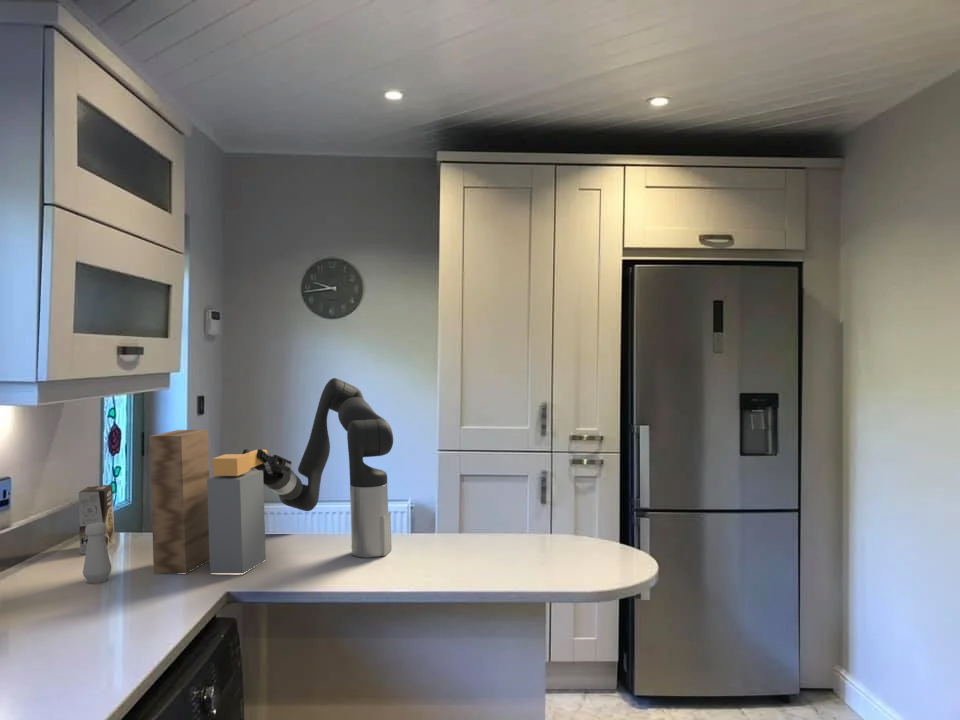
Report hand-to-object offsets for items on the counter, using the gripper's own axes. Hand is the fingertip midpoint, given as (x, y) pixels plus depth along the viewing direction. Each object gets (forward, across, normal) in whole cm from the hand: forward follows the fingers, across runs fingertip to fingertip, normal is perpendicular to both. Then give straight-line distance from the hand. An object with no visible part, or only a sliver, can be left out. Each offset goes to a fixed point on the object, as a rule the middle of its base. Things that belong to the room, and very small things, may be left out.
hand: (251, 453), depth 184 cm
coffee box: (-17, -46, +20) cm, 53 cm away
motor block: (-5, 0, +27) cm, 27 cm away
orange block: (+2, 0, +5) cm, 5 cm away
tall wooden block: (-5, -14, +27) cm, 31 cm away
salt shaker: (+5, -28, +33) cm, 43 cm away
